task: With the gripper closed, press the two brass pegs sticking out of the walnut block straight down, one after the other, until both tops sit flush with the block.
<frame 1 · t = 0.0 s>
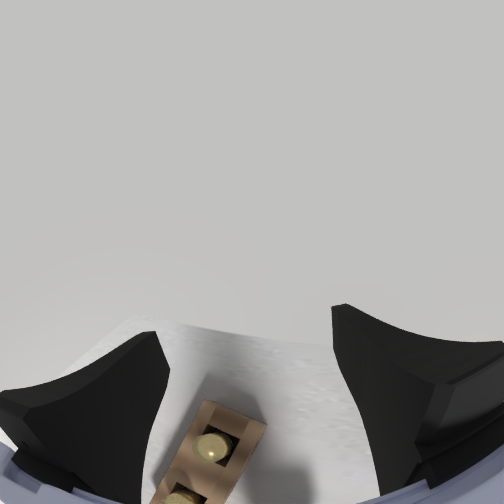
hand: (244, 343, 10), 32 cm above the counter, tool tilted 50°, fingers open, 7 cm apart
block: (210, 469, 31), on the counter
peg b: (213, 447, 28), point 7 cm above the counter, slide at 4.0 cm
peg a: (181, 503, 23), point 7 cm above the counter, slide at 4.0 cm
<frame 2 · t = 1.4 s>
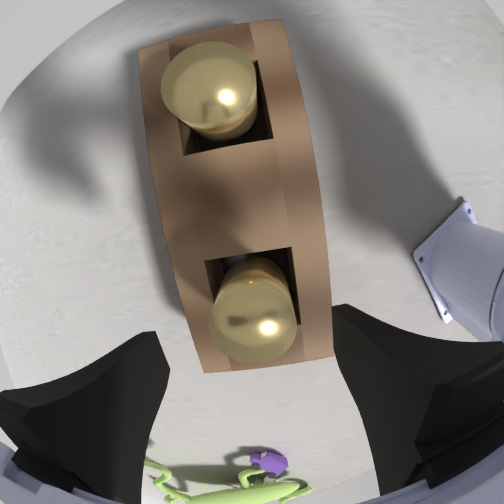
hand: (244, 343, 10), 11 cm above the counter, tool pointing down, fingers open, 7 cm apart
figurine: (218, 474, 30), on the counter
block: (243, 195, 19), on the counter
peg b: (216, 96, 12), point 7 cm above the counter, slide at 4.0 cm
peg a: (254, 305, 14), point 7 cm above the counter, slide at 4.0 cm
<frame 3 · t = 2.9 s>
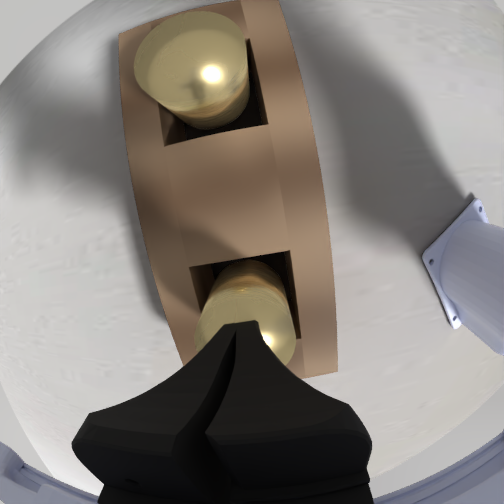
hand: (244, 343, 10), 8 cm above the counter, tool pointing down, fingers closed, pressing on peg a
block: (234, 192, 17), on the counter
peg b: (200, 76, 10), point 7 cm above the counter, slide at 4.0 cm
peg a: (247, 315, 13), point 6 cm above the counter, slide at 3.5 cm, touching gripper
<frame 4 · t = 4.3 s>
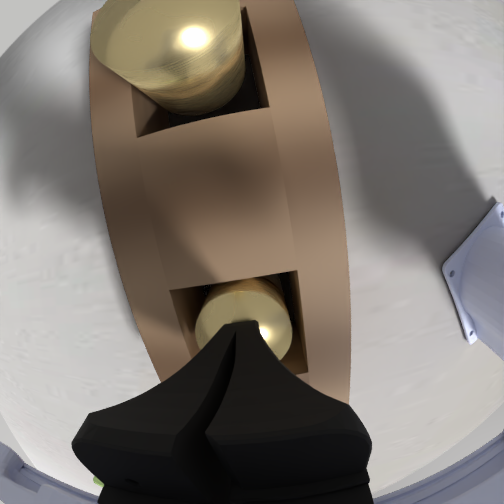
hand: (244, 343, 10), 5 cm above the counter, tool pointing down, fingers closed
block: (228, 194, 14), on the counter
peg b: (181, 46, 7), point 7 cm above the counter, slide at 4.0 cm
peg a: (245, 309, 13), point 2 cm above the counter, slide at 0.0 cm
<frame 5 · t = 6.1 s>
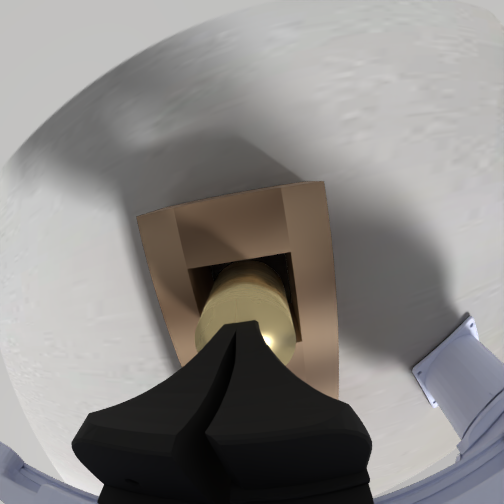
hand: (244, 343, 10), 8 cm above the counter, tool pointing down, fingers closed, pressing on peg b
block: (263, 343, 20), on the counter
peg b: (247, 315, 13), point 6 cm above the counter, slide at 3.2 cm, touching gripper
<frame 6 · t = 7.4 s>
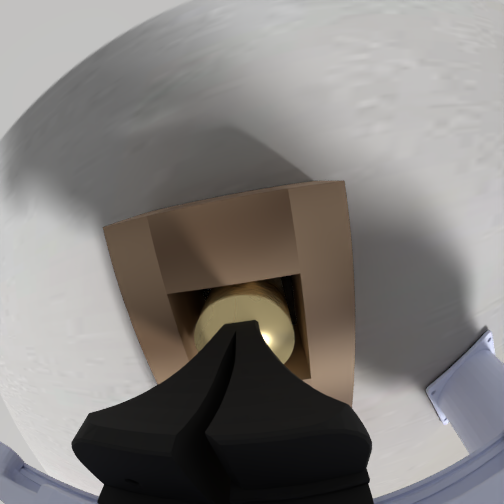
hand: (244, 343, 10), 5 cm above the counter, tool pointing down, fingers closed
block: (263, 368, 17), on the counter
peg b: (246, 313, 13), point 2 cm above the counter, slide at 0.0 cm
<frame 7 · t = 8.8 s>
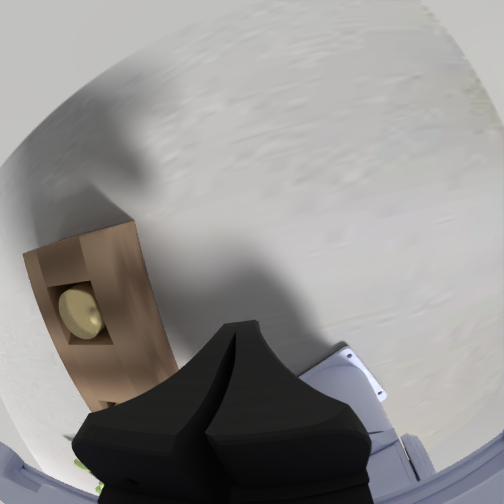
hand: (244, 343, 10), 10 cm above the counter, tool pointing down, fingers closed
block: (127, 345, 23), on the counter
peg b: (93, 303, 19), point 2 cm above the counter, slide at 0.0 cm
peg a: (139, 404, 21), point 2 cm above the counter, slide at 0.0 cm
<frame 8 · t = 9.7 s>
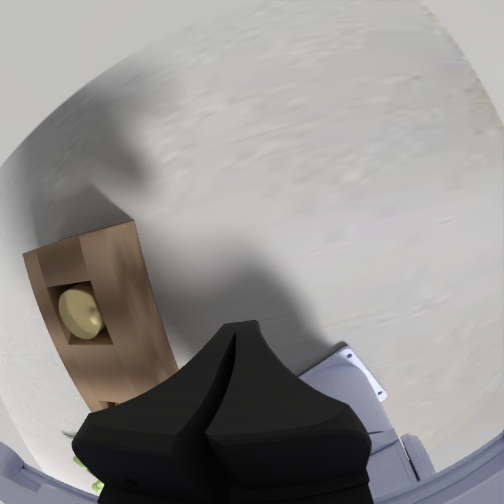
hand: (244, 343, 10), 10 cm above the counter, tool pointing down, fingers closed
block: (127, 345, 23), on the counter
peg b: (93, 303, 19), point 2 cm above the counter, slide at 0.0 cm
peg a: (139, 404, 21), point 2 cm above the counter, slide at 0.0 cm
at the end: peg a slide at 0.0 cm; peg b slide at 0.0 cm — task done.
